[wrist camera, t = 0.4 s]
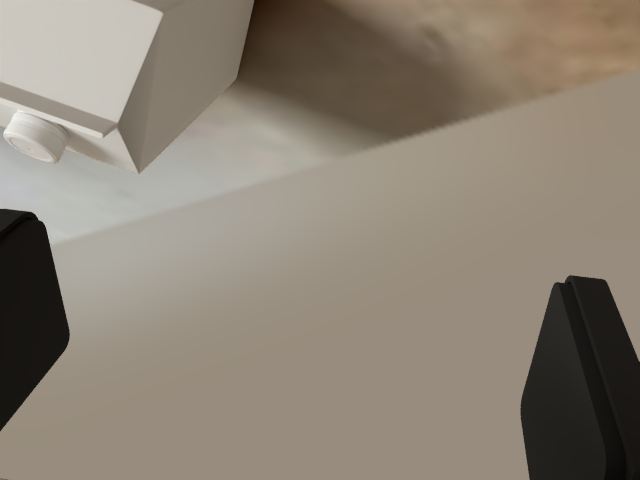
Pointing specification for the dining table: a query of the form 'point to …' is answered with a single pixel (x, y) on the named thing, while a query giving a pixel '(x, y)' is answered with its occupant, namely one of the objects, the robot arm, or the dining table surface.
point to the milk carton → (113, 73)
